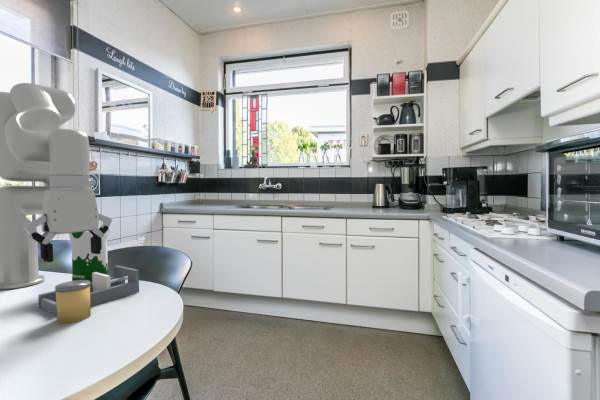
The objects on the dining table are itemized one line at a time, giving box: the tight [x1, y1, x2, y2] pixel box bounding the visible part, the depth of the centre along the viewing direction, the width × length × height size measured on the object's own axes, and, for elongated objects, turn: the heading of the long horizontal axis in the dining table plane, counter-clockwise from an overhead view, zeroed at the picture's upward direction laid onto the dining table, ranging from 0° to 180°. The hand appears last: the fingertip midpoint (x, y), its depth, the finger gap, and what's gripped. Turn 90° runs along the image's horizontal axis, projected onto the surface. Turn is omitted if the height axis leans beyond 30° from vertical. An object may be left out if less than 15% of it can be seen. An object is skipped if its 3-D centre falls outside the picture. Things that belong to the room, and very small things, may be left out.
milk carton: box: [68, 227, 111, 282], centre depth 95 cm, size 9×9×20 cm
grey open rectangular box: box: [38, 265, 140, 316], centre depth 85 cm, size 11×20×6 cm, turn 149°
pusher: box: [92, 272, 128, 292], centre depth 90 cm, size 8×8×6 cm
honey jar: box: [54, 280, 92, 325], centre depth 72 cm, size 7×7×8 cm
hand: (73, 257), depth 71 cm, fingers open, 9 cm apart
